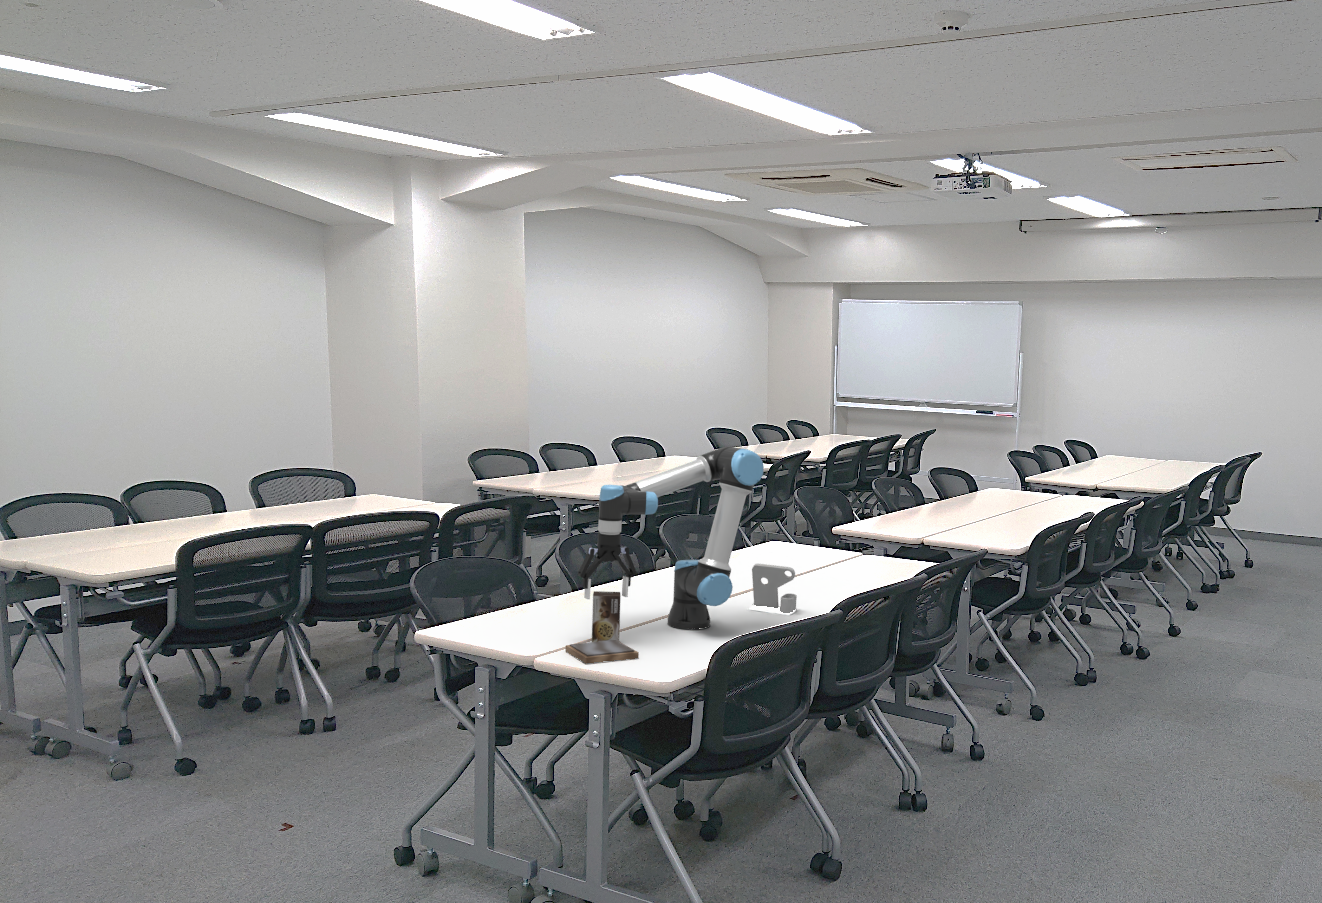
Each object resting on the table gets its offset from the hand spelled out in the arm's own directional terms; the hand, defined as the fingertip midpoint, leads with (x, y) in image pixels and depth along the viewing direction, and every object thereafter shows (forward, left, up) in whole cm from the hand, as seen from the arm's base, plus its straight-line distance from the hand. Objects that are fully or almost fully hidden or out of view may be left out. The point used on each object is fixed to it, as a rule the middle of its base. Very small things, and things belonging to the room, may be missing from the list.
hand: (606, 597), depth 352 cm
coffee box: (0, 0, -15) cm, 15 cm away
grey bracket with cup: (-80, -20, -15) cm, 84 cm away
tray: (+8, +14, -15) cm, 22 cm away
